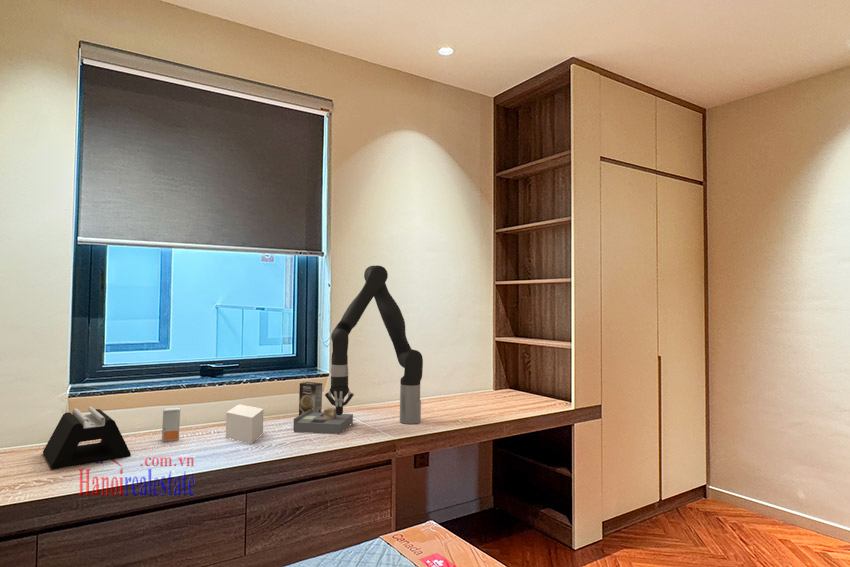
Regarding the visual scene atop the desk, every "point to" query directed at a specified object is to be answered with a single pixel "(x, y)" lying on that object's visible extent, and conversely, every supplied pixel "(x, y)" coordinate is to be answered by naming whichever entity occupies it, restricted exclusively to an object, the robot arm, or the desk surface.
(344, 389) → the robot arm
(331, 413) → the block
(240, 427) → the beige rectangular block
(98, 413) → the device stand
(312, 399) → the coffee box
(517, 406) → the desk surface
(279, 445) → the desk surface
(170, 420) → the skincare box
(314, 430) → the plate
